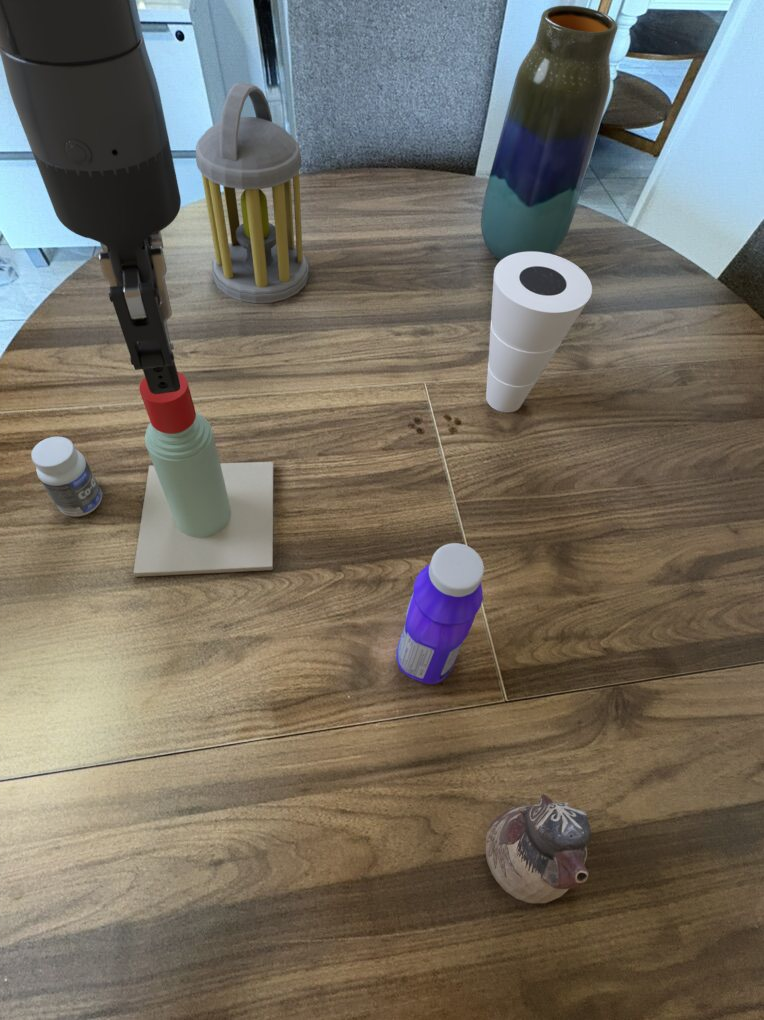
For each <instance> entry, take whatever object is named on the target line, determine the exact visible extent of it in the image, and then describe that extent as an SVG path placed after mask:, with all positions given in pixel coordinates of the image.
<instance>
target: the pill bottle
mask: <svg viewBox="0 0 764 1020" xmlns="http://www.w3.org/2000/svg"><path fill="white" fill-rule="evenodd" d="M30 455H31V456H30V457H31V461H32V462H33V464H34V466H35V467H36V469H35V470H36V475H37V478H38V480H39V481H40V482H41V484H42V486H43V488H44V489H45V490H46V492H47V493H48V495H49V496H50V498H51V500H52V501H53V503H54V504H55V506H56V508H58V510H59V512H60V513H61V514H63V515H66V516H69V517H75V518H76V517H83V516H86V515H88V514H90V513H92V512H94V511H95V510H96V509H97V508H98V507H99V505H100V504H101V502H102V499H103V491H102V489H101V487H100V485H99V483H98V481H97V479H96V477H95V476H94V473H93V472H92V469H91V467H90V465H89V463H88V461H87V459H86V458H85V456H84V455H83V454H82V453H81V452H80V451H79V450H77V448H76V447H75V445H74V443H73V442H72V441H71V439H69V438H67V437H64V436H50V437H47V438H44V439H42V440H41V441H39V442H38V443H37V444H35V446H34V447H33V449H32V450H31V454H30Z"/></svg>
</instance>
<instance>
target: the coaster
mask: <svg viewBox="0 0 764 1020" xmlns="http://www.w3.org/2000/svg"><path fill="white" fill-rule="evenodd" d="M220 465H221V469H222V473H223V477H224V482H225V486H226V490H227V494H228V499H229V503H230V507H231V517H230V520H229V522H228V523H227V525H226V526H225V527H224V528H223V529H222V530H221V531H219V532H218V533H216V534H214V535H211V536H208V537H192V536H189V535H186V534H185V533H183V532H182V531H181V530H179V528H178V527H177V525H176V523H175V520H174V518H173V515H172V512H171V510H170V507H169V505H168V502H167V499H166V497H165V494H164V491H163V489H162V486H161V484H160V481H159V478H158V476H157V473H156V471H155V468H154V465H153V464H151V465H148V472H147V476H146V477H147V478H146V483H145V484H146V485H145V490H144V498H143V505H142V511H141V518H140V524H139V525H140V526H139V530H138V531H139V533H138V538H137V544H136V545H137V546H136V553H135V559H134V565H133V571H132V574H133V576H134V577H135V578H137V577H139V578H140V577H141V578H142V577H157V576H159V577H161V576H177V575H178V576H179V575H200V574H221V573H222V574H223V573H238V572H239V573H241V572H242V573H243V572H260V571H263V572H264V571H273V570H274V508H275V507H274V503H275V499H274V498H275V495H274V494H275V493H274V491H275V489H274V488H275V486H274V484H275V483H274V482H275V481H274V480H275V478H274V477H275V476H274V475H275V470H274V469H275V467H274V466H275V465H274V461H254V462H253V461H252V462H222V463H221V462H220Z"/></svg>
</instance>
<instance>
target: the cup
mask: <svg viewBox="0 0 764 1020" xmlns="http://www.w3.org/2000/svg"><path fill="white" fill-rule="evenodd" d="M492 282H493V283H492V298H491V313H490V330H489V347H488V348H489V349H488V363H487V374H486V375H487V377H486V391H485V400H486V402H487V404H488V405H489V407H491V409H493V410H495V411H497V412H500V413H507V414H508V413H514V412H516V411H518V410H520V408H521V407H522V406H523V404H524V403H525V401H526V399H527V398H528V396H529V394H530V392H531V391H532V390H533V388H534V387H535V385H536V383H537V381H538V380H539V378H540V376H541V375H542V373H544V370H545V369H546V367H547V366H548V364H549V363H550V362H551V359H552V358H553V357H554V355H555V353H556V352H557V350H558V349H559V347H560V345H561V344H562V343H563V341H564V339H565V338H566V336H567V335H568V334H569V332H570V330H571V329H572V327H573V326H574V324H575V322H576V321H577V319H578V317H579V316H580V315H581V313H582V312H583V310H584V308H585V306H586V305H587V304H588V302H589V300H591V296H592V293H593V286H592V282H591V280H590V278H589V276H588V275H587V273H586V272H585V271H584V270H583V269H581V267H579V266H578V265H576V264H575V263H574V262H572V261H570V260H569V259H566V258H564V257H561V256H559V255H556V254H554V253H553V254H549V253H543V252H520V253H515V254H512V255H509V256H507V257H505V258H504V259H502V260H501V261H500V260H499V262H498V263H497V264H496V266H495V267H494V271H493V281H492Z"/></svg>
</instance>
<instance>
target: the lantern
mask: <svg viewBox="0 0 764 1020" xmlns="http://www.w3.org/2000/svg"><path fill="white" fill-rule="evenodd" d="M248 97H249V98H250V101H251V104H252V108H253V111H254V115H255V116H242V112H243V108H244V105H245V103H246V100H247V98H248ZM195 162H196V167H197V169H198V171H199V172H200V174H201V177H202V184H203V185H202V186H203V191H204V197H205V203H206V208H207V213H208V220H209V225H210V231H211V238H212V243H213V249H214V255H215V257H214V259H213V260H212V261H211V262H212V276H213V281H214V282H215V284H216V286H217V288H218V289H219V290H220V291H222V292H223V293H224V294H225V295H227V296H228V297H231V298H233V299H235V300H237V301H240V302H244V303H245V302H246V303H251V304H266V303H267V304H269V303H270V304H272V303H275V302H279V301H283V300H287V299H289V298H291V297H293V296H294V295H296V294H298V293H299V292H301V290H302V289H304V287H306V284H307V282H308V280H309V277H310V275H309V271H310V270H309V263H308V259H307V257H306V255H305V254H304V253H303V232H302V211H301V209H302V208H301V207H302V206H301V188H300V187H301V185H300V184H301V183H300V170H301V168H302V155H301V149H300V145H299V143H298V141H297V140H296V138H295V137H294V136H293V135H292V134H290V133H289V132H288V131H287V130H286V129H284V128H283V127H282V126H280V125H278V124H276V123H275V122H273V117H272V113H271V108H270V105H269V102H268V100H267V97H266V95H265V93H264V91H263V90H262V89H261V88H259V87H258V86H257V85H255V84H252V83H247V82H244V81H242V82H241V81H240V82H238V83H234V84H233V85H232V86H231V87H230V90H229V91H228V92H227V94H226V97H225V101H224V104H223V107H222V111H221V119H220V121H219V122H217V123H215V124H214V125H212V126H210V127H209V128H207V130H205V132H204V133H203V134H202V135H200V138H199V139H198V141H196V145H195ZM221 186H222V188H223V196H224V200H225V201H224V202H225V209H226V216H227V221H228V222H227V224H228V230H229V236H230V243H229V237H228V231H227V224H226V217H225V211H224V204H223V196H222V191H221ZM292 187H293V188H292ZM269 188H271V192H272V206H273V217H274V219H273V220H274V224H272V223H270V221H269V211H268V210H269V209H268V199H267V196H266V194H265V192H264V191H262V190H265V189H269ZM236 189H238V190H243V191H242V193H241V195H240V207H241V216H242V223H241V224H240V217H239V209H238V200H237V195H236ZM292 189H293V196H292ZM292 197H293V198H292ZM293 207H294V208H293ZM293 209H294V215H293ZM293 217H294V218H293ZM294 225H295V227H294ZM294 229H295V236H294Z"/></svg>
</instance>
